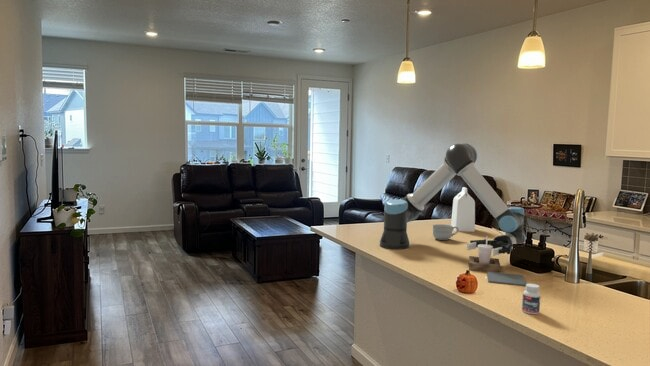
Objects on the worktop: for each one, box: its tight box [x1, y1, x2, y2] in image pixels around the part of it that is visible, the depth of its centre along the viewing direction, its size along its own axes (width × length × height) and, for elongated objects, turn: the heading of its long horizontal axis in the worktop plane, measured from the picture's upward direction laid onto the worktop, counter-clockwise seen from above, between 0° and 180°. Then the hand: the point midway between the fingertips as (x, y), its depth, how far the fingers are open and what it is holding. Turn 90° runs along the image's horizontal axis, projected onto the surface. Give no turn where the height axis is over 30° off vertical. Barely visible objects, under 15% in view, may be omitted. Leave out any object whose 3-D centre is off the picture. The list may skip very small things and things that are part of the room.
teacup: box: [432, 223, 460, 241], centre depth 263 cm, size 14×11×8 cm
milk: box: [450, 186, 476, 232], centre depth 293 cm, size 12×12×26 cm
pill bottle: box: [521, 283, 541, 315], centre depth 155 cm, size 5×5×9 cm
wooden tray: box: [468, 255, 501, 273], centre depth 208 cm, size 12×12×3 cm
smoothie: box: [476, 235, 493, 264], centre depth 207 cm, size 6×6×14 cm
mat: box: [486, 271, 527, 287], centre depth 191 cm, size 14×14×1 cm
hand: (480, 249), depth 204 cm, fingers open, 11 cm apart
